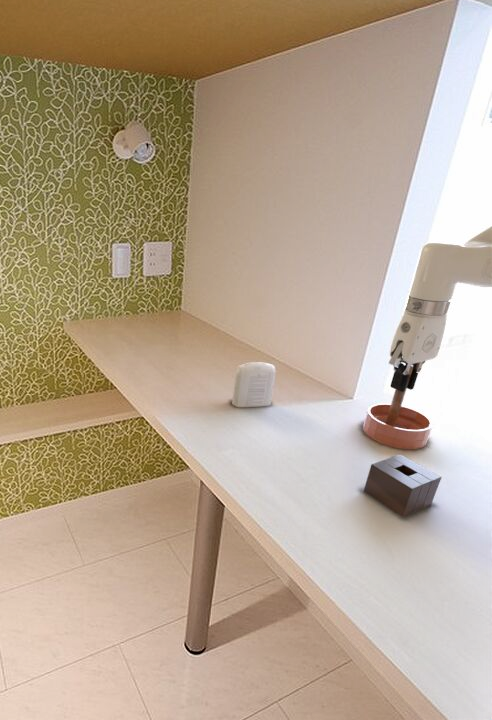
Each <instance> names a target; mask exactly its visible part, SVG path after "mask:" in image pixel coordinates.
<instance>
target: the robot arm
mask: <svg viewBox="0 0 492 720" xmlns="http://www.w3.org/2000/svg"><path fill="white" fill-rule="evenodd" d="M412 276H413V277H412V280H411V283H410V287H409V291H408V295H407V297H406V301H405V305H404V307H403V313H402V316H401V318H400V320H399V322H398V325H397V327H396V330H395V333H394V336H393V339H392V342H391V345H390V350H389V357H391V358H390V359H389V361H388V365H390V366H391V367H393V376H392V378H391V382H390V388H391V389H395V390H399V391H401V392H404V391H405V390H406V391H407V390H409V391H410V390H411V391H412V390H414V388H415V385H416V381H417V378H418V376H419V373H420V372H421V371H422V368H423V365H424V364H425V363H426V362H427V361H430V360H434V359H435V358H436V357H438V354H439V353H440V348H441V345H442V341H443V338H444V333H445V329H446V324H447V314H448V311H449V308H450V305H451V302H452V299H453V295H454V292H455V289H456V286H457V284H458V283H460V284H465V285H470V286H474V287H480V288H492V226H490V227H487V228H486V229H485V230H483V231H481V232H480V233H478V234H477V235H475V236H474V237H472V238H470V239H469V240H467V241H466V242H464V243H463V244H461V243H457V242H450V241H429V242H427V243H425V244H423V245H422V247H421V249H420V251H419V255H418V259H417V262H416V266H415V269H414V273H413V275H412ZM404 363H406V364H405V366H404ZM411 364H412V365H413V370H412V373H411V376H410V375H408V373H409V370H410V367H411ZM409 377H410V379H409ZM408 380H409V382H408ZM407 383H408V386H407ZM406 386H407V389H406Z"/></svg>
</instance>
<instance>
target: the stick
mask: <svg viewBox="0 0 492 720" xmlns="http://www.w3.org/2000/svg"><path fill="white" fill-rule="evenodd" d="M403 364H404V366H405V364H406V363H403ZM412 370H413V365H412V364H411V367H410V370H409V373H408V375H410V376H411V373H412ZM409 379H410V377H409ZM408 382H409V380H408ZM407 386H408V383H407ZM407 386H406V390H405V391H404V392H401V391H399V390H396V389H395V390H394V393H393V397H392V400H391V403H390V404H391V406H390V410H389V413H388V417H387V420H386V423H385V424H387V425H390V426H393V427H396V425H395V424H396V421H397V418H398V415H399V412H400V408H401V406H403V403H404V402H403V401H404V398H405V395H406V392H407V390H408V389H407Z"/></svg>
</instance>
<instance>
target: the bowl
mask: <svg viewBox="0 0 492 720" xmlns="http://www.w3.org/2000/svg"><path fill="white" fill-rule="evenodd" d="M390 406H391V403H375V404H372V405H370V406H369V407H368V408H367V409H366V413H365V417H364V421H363V424H362V430H363V432H364V434H365V435H366V436H368V437H369V438H370V439H372V440H373V441H375V442H377V443H380V444H382V445H385V446H387V447H391V448H395V449H400V450H418V449H422V448H423V447H426V445H427V443H428V441H429V437H430V436H431V432H432V429H433V426H434V422H433V420H432V419H431V418H430V417H429V416H428V415H426V414H425V413H423V412H421V411H419V410H417V409H415V408H413V407H409V406H405V405H401V408H400V412H399V415H398V418H397V421H396V424H395V427H393V426H390V425H387V424H385V423H386V420H387V417H388V413H389V410H390Z"/></svg>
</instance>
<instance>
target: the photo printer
mask: <svg viewBox="0 0 492 720" xmlns="http://www.w3.org/2000/svg"><path fill="white" fill-rule="evenodd" d="M275 379H276V366H275V365H274V364H271V363H269V362H265V361H264V362H263V361H251V362H246V363H242V364H239V365H238V366H236V369H235V376H234V385H233V391H232V392H233V393H232V400H231V401H232V402H231V403H232V404H231V405H232V406H234V407H236V408H256V407H258V408H259V407H270V406H271V403H272V397H273V392H274V386H275V381H276V380H275Z"/></svg>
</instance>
